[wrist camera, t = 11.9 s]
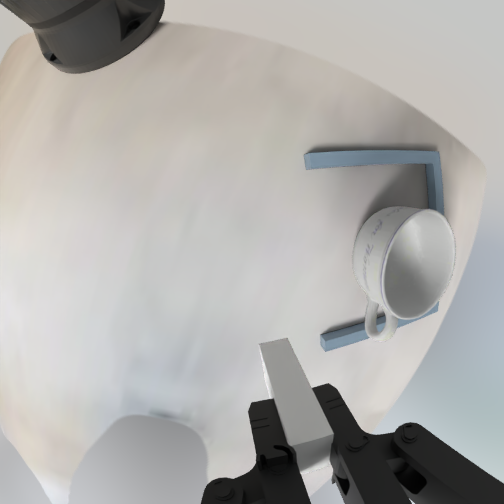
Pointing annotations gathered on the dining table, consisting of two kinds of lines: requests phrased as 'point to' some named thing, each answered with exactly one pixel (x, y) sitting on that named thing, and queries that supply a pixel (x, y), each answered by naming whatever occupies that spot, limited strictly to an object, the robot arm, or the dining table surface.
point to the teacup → (403, 264)
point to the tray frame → (379, 158)
